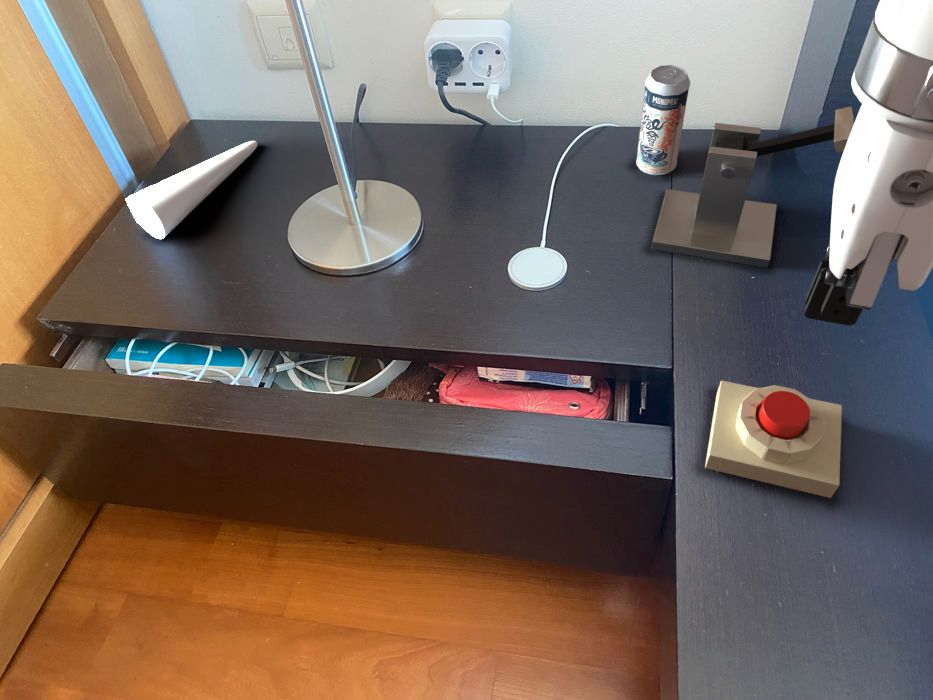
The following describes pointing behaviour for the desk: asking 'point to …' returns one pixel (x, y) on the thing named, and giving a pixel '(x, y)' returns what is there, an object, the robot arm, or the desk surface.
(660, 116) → the beer can
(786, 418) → the button
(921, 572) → the desk surface
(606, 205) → the desk surface
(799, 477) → the switch block
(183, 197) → the long cone
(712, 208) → the bracket
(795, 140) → the lever
